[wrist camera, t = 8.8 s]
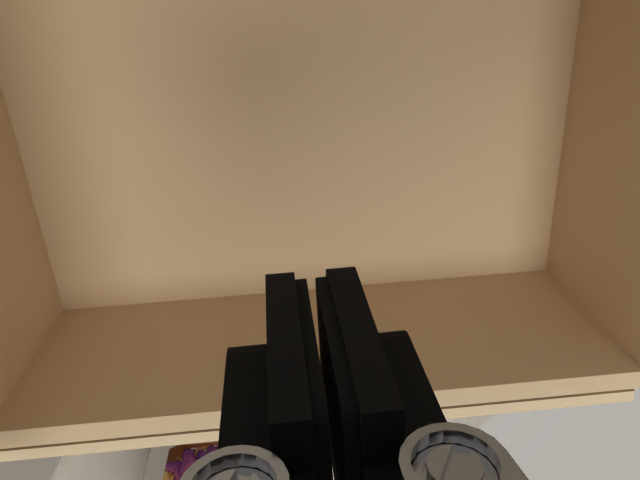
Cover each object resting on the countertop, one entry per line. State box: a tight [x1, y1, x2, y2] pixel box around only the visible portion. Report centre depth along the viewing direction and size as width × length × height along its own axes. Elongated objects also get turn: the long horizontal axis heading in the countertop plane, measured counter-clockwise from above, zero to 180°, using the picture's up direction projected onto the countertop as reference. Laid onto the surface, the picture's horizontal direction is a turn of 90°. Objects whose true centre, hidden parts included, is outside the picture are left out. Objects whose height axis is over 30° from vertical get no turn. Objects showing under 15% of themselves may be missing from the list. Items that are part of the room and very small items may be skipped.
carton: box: [0, 0, 640, 462], centre depth 21 cm, size 26×20×9 cm
